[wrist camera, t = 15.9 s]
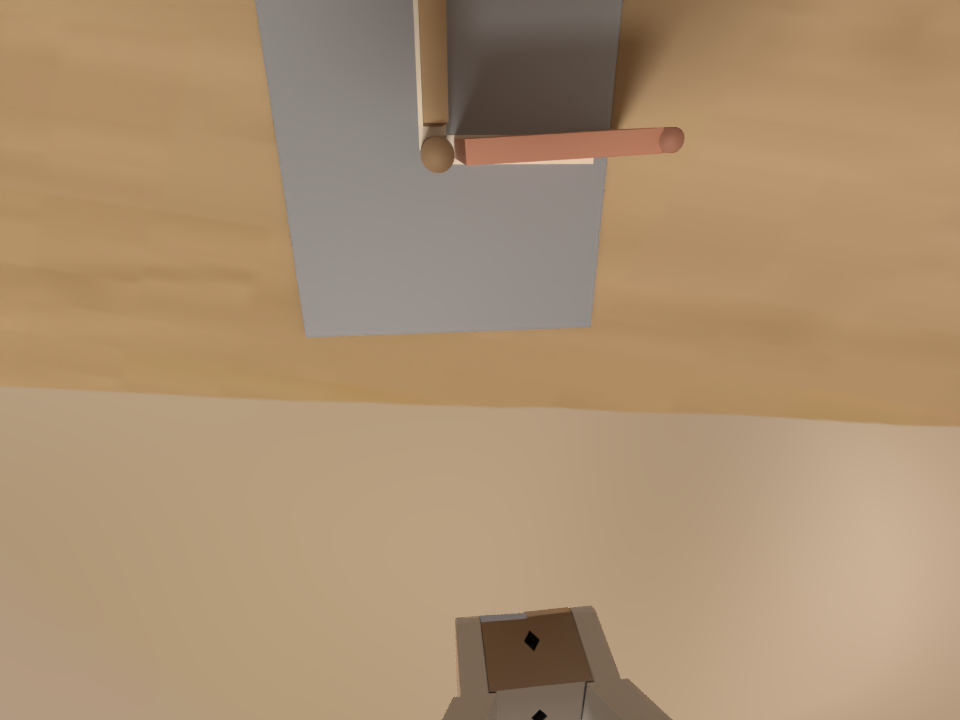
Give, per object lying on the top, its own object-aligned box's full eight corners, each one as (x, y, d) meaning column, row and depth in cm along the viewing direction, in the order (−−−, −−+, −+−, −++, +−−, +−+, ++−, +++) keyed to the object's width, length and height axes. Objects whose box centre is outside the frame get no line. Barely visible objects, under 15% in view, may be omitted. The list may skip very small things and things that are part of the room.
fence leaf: (614, 148, 34) (683, 152, 25) (454, 158, 34) (466, 166, 24) (614, 129, 34) (685, 126, 25) (453, 138, 33) (465, 139, 24)
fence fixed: (421, 162, 34) (421, 173, 24) (412, -48, 29) (407, -145, 19) (445, 162, 34) (455, 172, 24) (440, -47, 29) (449, -143, 19)
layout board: (306, 336, 38) (305, 337, 37) (246, -63, 28) (244, -66, 28) (589, 325, 40) (590, 327, 40) (625, -48, 30) (628, -51, 30)
